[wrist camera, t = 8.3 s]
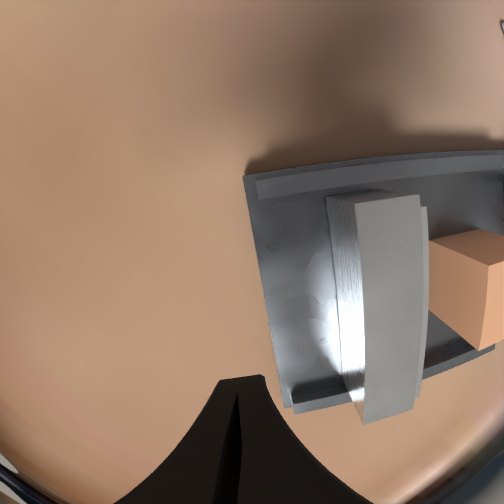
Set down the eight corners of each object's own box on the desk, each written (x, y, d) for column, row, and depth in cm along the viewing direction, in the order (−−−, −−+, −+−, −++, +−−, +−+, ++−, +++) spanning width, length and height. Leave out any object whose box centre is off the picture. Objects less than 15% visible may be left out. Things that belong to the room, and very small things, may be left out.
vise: (518, 149, 14) (569, 150, 9) (513, 325, 17) (551, 352, 12) (242, 176, 14) (241, 175, 10) (283, 399, 17) (292, 458, 13)
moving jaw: (383, 187, 14) (428, 193, 10) (390, 364, 16) (419, 406, 12) (325, 196, 14) (354, 204, 10) (342, 378, 16) (363, 424, 12)
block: (480, 228, 14) (540, 248, 10) (478, 292, 15) (530, 324, 10) (428, 240, 14) (488, 265, 10) (428, 309, 15) (478, 351, 11)
